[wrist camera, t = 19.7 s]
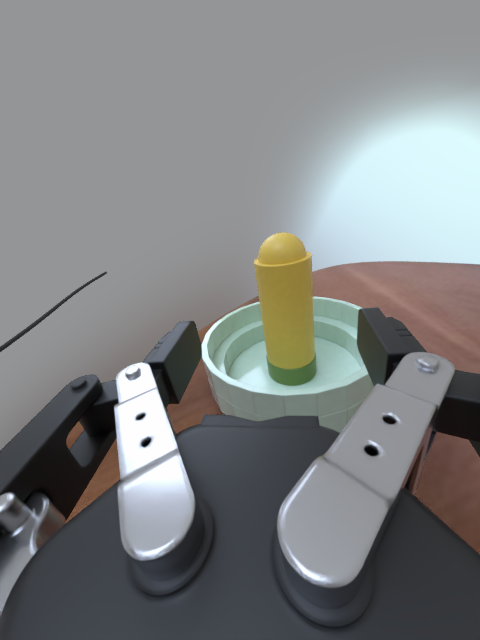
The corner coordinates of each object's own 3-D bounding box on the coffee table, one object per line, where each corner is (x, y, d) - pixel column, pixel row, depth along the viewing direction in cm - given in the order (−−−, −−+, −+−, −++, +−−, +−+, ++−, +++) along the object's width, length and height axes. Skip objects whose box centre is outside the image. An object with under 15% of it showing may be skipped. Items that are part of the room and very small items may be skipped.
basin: (207, 351, 34) (198, 315, 32) (327, 322, 36) (326, 285, 33) (224, 474, 19) (208, 422, 16) (432, 413, 20) (445, 358, 18)
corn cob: (259, 369, 28) (237, 238, 21) (292, 350, 30) (281, 226, 23) (291, 393, 24) (276, 242, 17) (327, 369, 26) (325, 226, 20)
